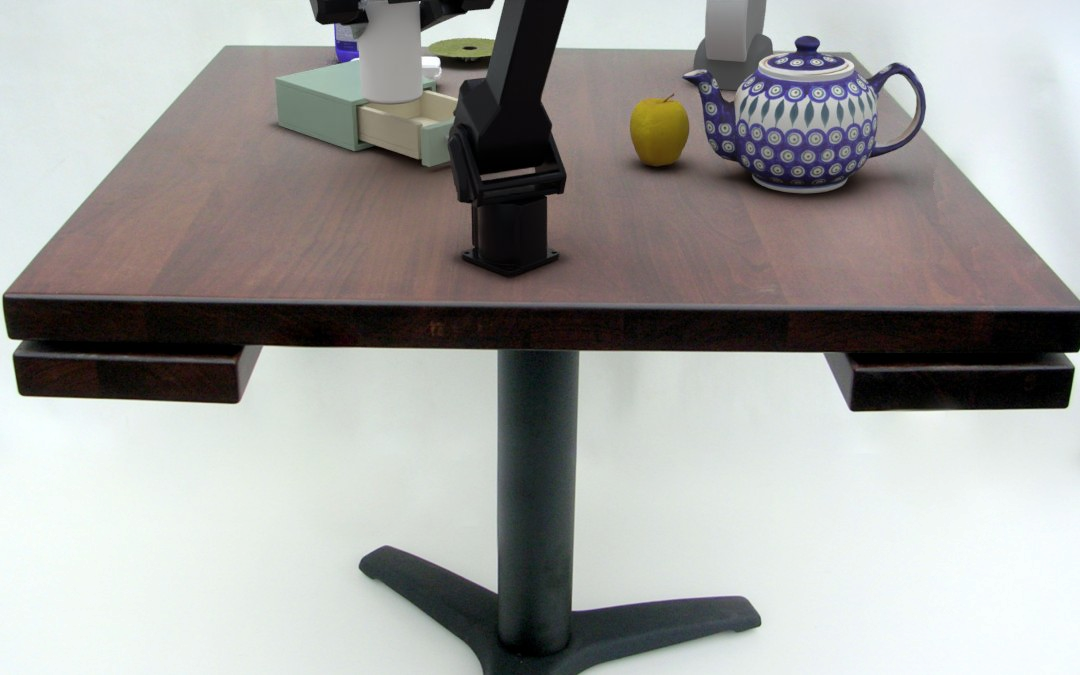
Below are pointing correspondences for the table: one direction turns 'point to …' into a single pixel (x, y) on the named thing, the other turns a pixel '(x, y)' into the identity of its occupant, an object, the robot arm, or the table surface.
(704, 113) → the teapot
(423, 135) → the drawer
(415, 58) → the can
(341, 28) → the bottle
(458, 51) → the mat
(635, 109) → the apple
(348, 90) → the cabinet
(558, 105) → the table surface
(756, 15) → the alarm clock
